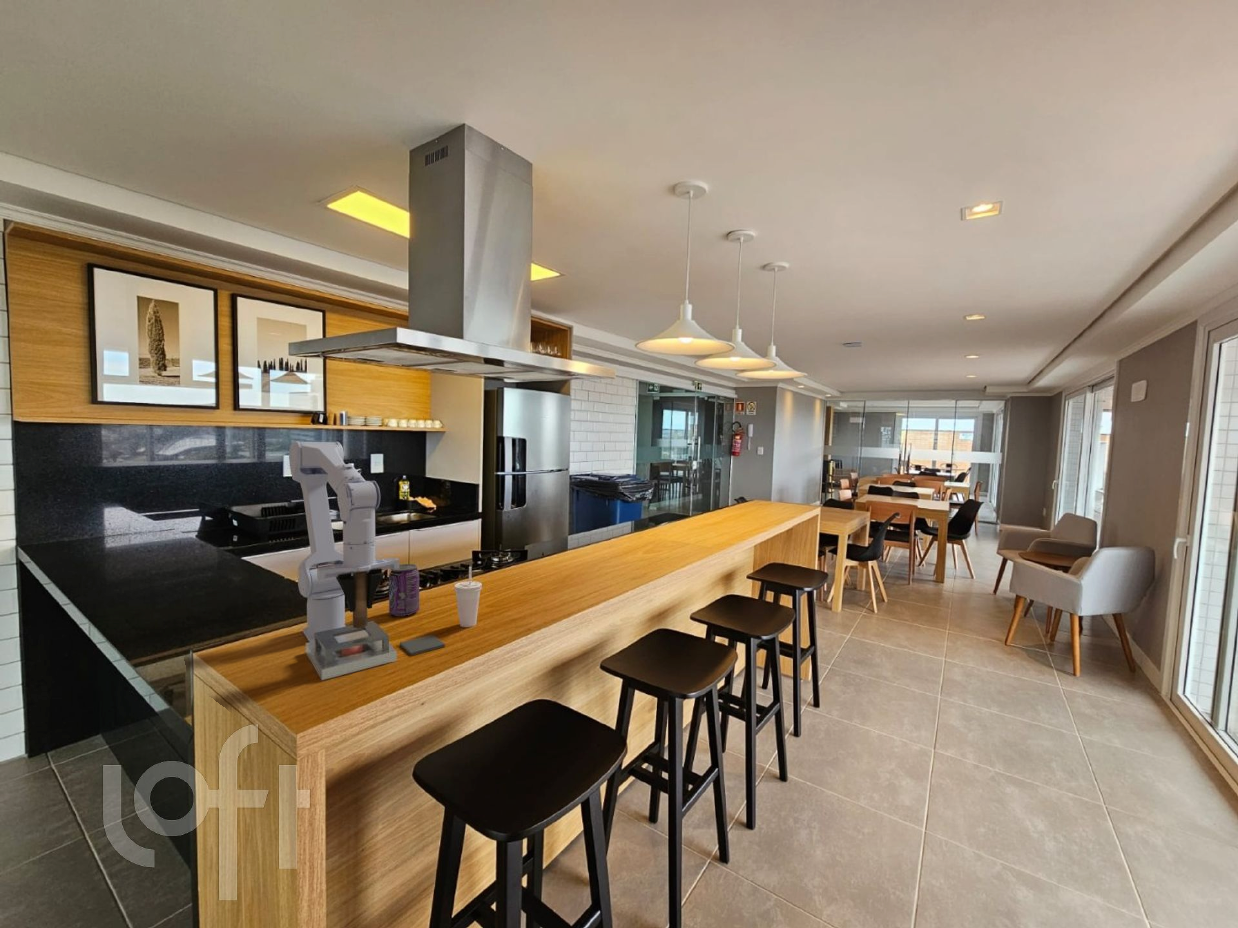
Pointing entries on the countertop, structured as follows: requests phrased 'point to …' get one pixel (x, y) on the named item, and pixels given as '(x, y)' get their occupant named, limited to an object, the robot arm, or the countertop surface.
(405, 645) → the rubber pad
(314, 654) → the box
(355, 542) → the robot arm
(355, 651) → the breaker plunger
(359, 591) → the walnut dowel
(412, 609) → the beverage can
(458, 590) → the smoothie
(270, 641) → the countertop surface
